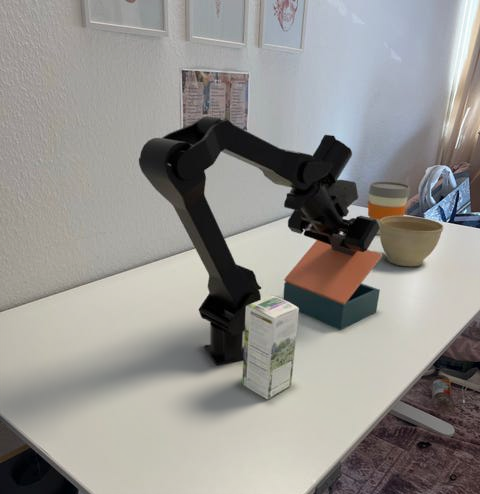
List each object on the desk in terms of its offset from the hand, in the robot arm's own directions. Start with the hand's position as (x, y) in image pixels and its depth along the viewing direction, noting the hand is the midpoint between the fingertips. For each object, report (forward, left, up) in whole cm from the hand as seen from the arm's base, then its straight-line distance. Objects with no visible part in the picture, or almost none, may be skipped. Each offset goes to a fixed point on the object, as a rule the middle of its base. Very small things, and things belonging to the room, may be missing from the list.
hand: (346, 247), depth 100 cm
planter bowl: (+17, -34, -13) cm, 40 cm away
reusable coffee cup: (+43, -48, -13) cm, 66 cm away
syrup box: (-22, +29, -13) cm, 39 cm away
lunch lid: (-1, +4, -4) cm, 6 cm away
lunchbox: (-1, +3, -13) cm, 14 cm away
